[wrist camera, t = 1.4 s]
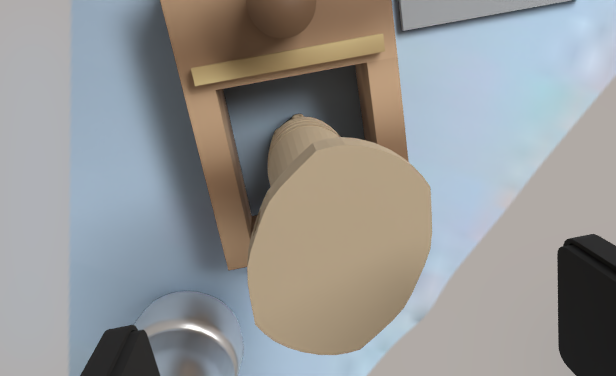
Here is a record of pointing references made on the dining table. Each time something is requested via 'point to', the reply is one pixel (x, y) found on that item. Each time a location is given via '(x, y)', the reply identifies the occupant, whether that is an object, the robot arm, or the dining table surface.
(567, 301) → the robot arm
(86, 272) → the dining table surface
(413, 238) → the handle
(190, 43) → the body
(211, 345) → the plastic bottle
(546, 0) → the mat
